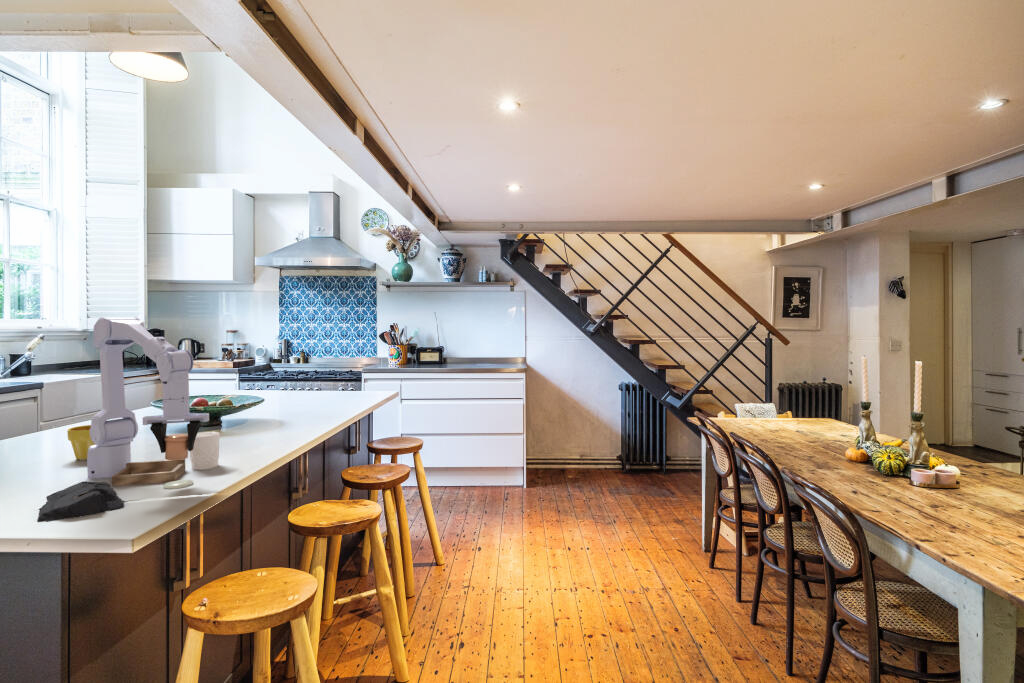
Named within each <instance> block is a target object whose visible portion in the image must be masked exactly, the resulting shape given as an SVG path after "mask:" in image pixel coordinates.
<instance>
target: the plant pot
mask: <svg viewBox="0 0 1024 683" xmlns="http://www.w3.org/2000/svg"><path fill="white" fill-rule="evenodd" d="M90 428H91V424H88V425H87V424H86V425H80V426H74V427H73V426H72V427H70V428H68V429H67V430H66V431H67V440H68V441H70V443H71V447H72V450H73V453H74V456H75V459H87V453H88V450H89V448H90V446H92V445H96V444H95V443H94V442H93V441H92V440H91V438H90Z"/></svg>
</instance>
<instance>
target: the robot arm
mask: <svg viewBox="0 0 1024 683" xmlns="http://www.w3.org/2000/svg"><path fill="white" fill-rule="evenodd" d="M93 338H94V340H93V342H94V347H95V348H97V349H99V361H100V362H99V364H100V379H101V380H100V382H101V396H102V397H101V400H102V401H101V402H102V403H101V404H102V409H101V410H100V411H98V412H97V413H96V414H94V415H93V416H92V417H91V421H90V422H91V423H90V425H91V428H90V438H91V440H92V441H93V442H94V443H95V444H96V445H92V446H90V448H89V450H88V453H87V460H86V467H87V478H86V480H88V479H89V480H90V479H91V480H92V479H101V478H102V479H103V478H104V479H105V478H112V476H114V475H115V474H117V473H118V472H120V471H121V470H123V469H124V468H126V463H131V462H132V454H131V449H132V448H131V442H134V439H135V438H136V437H137V435H138V433H139V424H138V422H137V420H136V413H135V412H133V411H131V409H129V408H127V407H126V395H125V379H124V378H125V376H124V375H125V374H124V359H123V352H124V351H125V350H126V348H128V347H131V346H133V345H134V344H135V343H136V345H139V346H140V347H142V351H143V354H144V355H145V356H147V357H148V358H149V359H150V360H152V361H153V362H154V363H155V364H156V368H157V372H158V373H159V379H160V381H161V382H162V383H161V384H162V412H163V413H162V414H159V415H158V414H157V415H147V416H146V415H145V416H143V417H142V425H143V426H147V425H151V426H150V427H149V429H150V432H152V434H153V435H154V437H155V439H156V441H157V443H158V446H159V450H160V453H161V454H164V453H165V448H166V441H165V440H164V438H165V436H167V427H168V424H178V423H187V424H186V429H187V435H188V452H190V451H192V450H193V448H194V442H195V438H196V435H197V433H199V431H200V428H201V426H202V424H203V423H207V422H209V421H210V413H209V412H207V413H206V412H203V413H197V412H196V413H195V412H194V413H192V412H191V413H190V389H189V388H190V382H189V378H190V377H189V373H190V372H191V371H192V370H193V368H194V361H195V360H194V357H193V355H192V354H191V352H190V351H189V350H187V349H184V350H180V349H178V348H177V347H176V346H174V345H173V344H171V343H170V342H168V341H167V340H166V338H165V337H164V336H154V335H153V334H152V333H150V332H149V331H148V330H147V329H146V328H145V322H144V321H143V320H141V319H140V318H139V317H104V316H102V317H99V318H98V319H97V321H96V322H95V323H94V325H93Z"/></svg>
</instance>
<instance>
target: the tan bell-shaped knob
mask: <svg viewBox="0 0 1024 683" xmlns="http://www.w3.org/2000/svg"><path fill="white" fill-rule="evenodd" d="M164 440H165V441H166V448H165V452H164V453H165V454H164V460H181V459H185V460H186V459H188V458H189V451H188V433H187V434H186V433H177V434H176V433H174V434H168V435H167V434H166V436H165V438H164Z"/></svg>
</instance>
